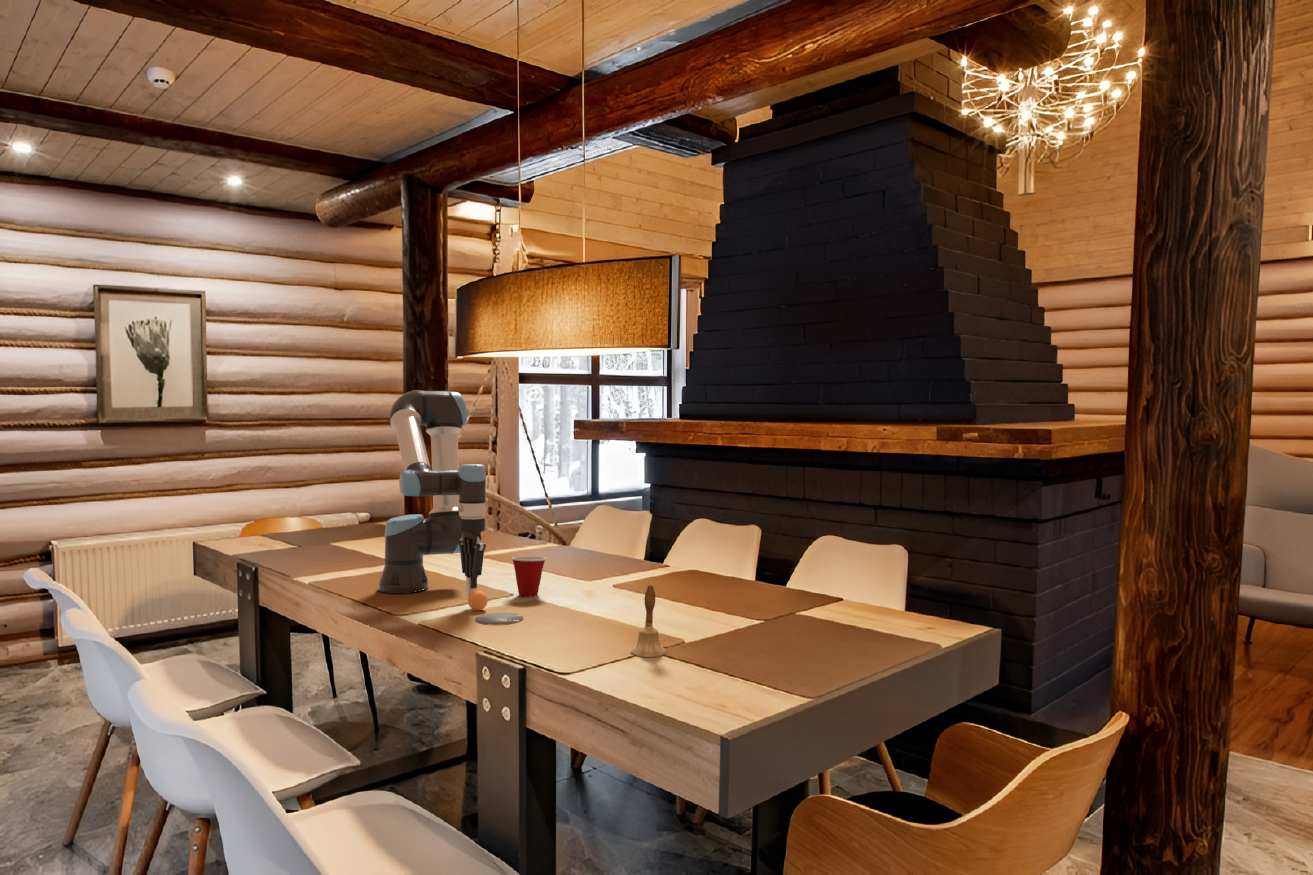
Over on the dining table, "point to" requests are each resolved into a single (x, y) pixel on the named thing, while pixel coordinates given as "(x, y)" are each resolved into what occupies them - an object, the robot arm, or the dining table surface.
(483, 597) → the ball
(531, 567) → the plastic cup
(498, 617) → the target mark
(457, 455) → the robot arm
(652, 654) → the hand bell
